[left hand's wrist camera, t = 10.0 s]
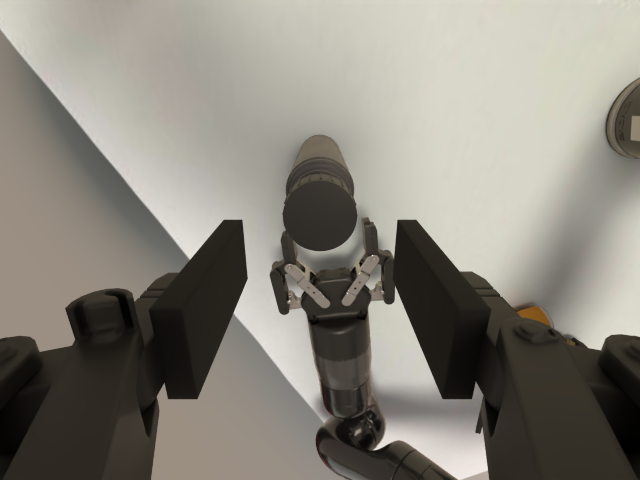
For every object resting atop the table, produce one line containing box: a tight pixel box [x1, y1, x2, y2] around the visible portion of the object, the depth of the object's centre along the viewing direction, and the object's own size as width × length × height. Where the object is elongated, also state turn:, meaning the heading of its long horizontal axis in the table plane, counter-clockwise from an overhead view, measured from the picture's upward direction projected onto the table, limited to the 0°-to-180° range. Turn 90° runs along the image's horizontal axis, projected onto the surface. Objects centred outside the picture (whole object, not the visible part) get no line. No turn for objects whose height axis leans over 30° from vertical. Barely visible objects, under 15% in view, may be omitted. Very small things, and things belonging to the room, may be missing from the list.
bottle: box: [286, 135, 354, 197], centre depth 30 cm, size 5×5×24 cm
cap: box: [283, 173, 357, 251], centre depth 19 cm, size 4×4×2 cm
